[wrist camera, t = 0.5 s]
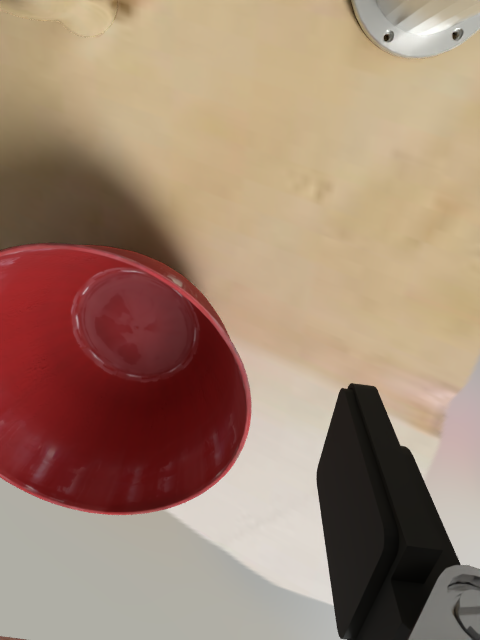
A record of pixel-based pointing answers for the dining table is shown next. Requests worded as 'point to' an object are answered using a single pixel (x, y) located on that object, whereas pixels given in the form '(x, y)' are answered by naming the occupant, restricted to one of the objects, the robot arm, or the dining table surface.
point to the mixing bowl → (113, 381)
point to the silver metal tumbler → (67, 13)
